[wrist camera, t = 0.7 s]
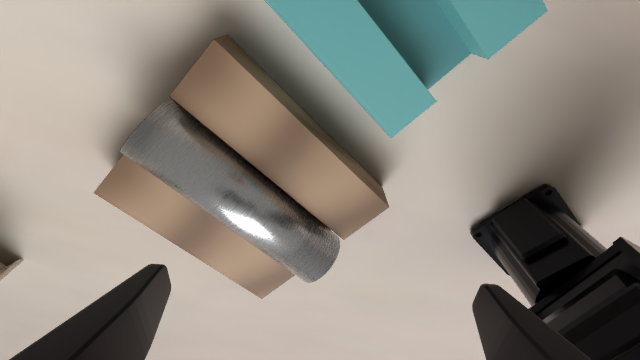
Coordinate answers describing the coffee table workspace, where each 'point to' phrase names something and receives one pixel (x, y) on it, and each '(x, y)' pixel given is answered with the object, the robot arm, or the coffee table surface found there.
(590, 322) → the robot arm
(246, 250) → the wooden channel block
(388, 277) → the coffee table surface
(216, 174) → the axle
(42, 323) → the coffee table surface
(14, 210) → the coffee table surface
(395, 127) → the v block
